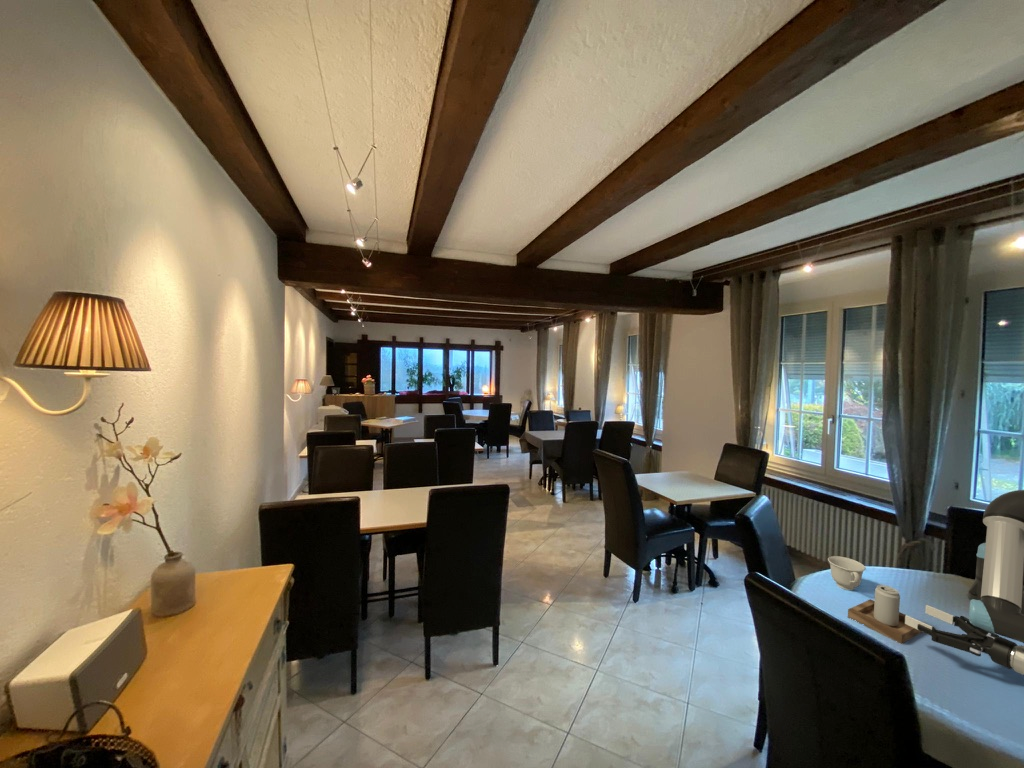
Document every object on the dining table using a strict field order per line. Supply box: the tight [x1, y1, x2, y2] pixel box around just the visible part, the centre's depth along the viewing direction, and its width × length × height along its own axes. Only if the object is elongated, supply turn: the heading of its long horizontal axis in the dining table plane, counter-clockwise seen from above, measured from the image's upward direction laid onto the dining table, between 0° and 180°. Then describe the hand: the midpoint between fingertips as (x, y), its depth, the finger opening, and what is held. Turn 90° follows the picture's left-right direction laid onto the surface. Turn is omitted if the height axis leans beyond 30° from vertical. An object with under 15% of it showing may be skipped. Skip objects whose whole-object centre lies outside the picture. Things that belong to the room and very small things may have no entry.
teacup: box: [827, 555, 867, 591], centre depth 162 cm, size 12×15×10 cm
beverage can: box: [874, 584, 901, 626], centre depth 140 cm, size 6×6×12 cm
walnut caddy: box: [847, 599, 923, 645], centre depth 140 cm, size 15×15×3 cm
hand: (915, 614), depth 133 cm, fingers open, 13 cm apart
